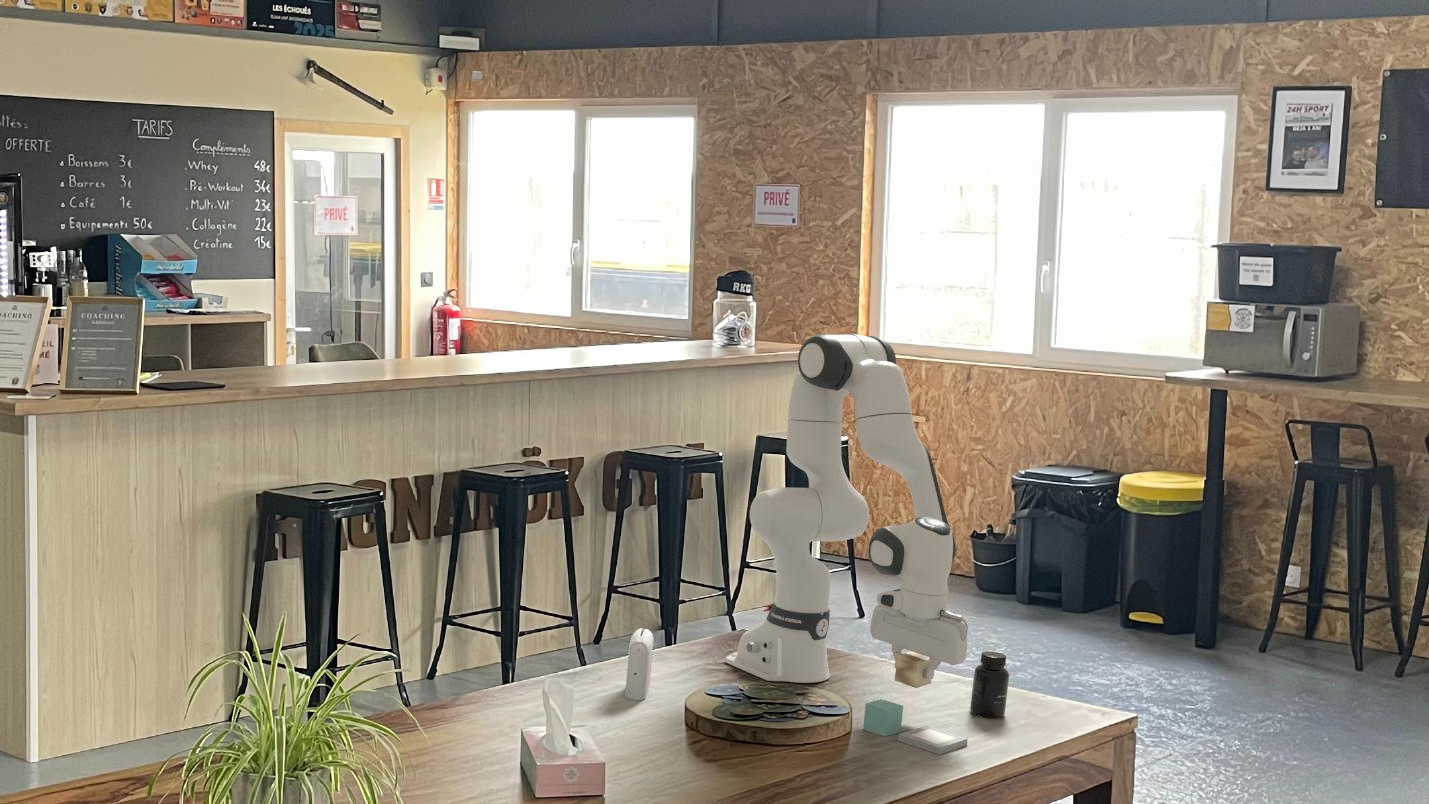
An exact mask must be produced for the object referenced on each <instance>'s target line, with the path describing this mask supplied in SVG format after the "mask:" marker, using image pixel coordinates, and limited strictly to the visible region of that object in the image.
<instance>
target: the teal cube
mask: <svg viewBox="0 0 1429 804" xmlns="http://www.w3.org/2000/svg"><path fill="white" fill-rule="evenodd" d="M864 708H865V709H864V716H863V717H864V718H863V728H862V729H863V730H864V731H868V732H870V733H874V734H877V735H879V736H883V737H888V736H891V735H894V734H897V733H900V732H902V722H903V721H902V720H903V711H904V705H902V704H898V703H895V702H892V701H888V700H886V699H883V698H880V699H877V700H874V701H873V700H872V701H869V702H866V703H865V706H864Z"/></svg>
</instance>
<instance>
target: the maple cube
mask: <svg viewBox="0 0 1429 804" xmlns="http://www.w3.org/2000/svg"><path fill="white" fill-rule="evenodd" d="M930 665H931V663H929V657H927V656H924V655H921V654H918V653H916V652H913V651H908V652H905V653H902V654H901V655H898V657H897V664H896V668H895V674H894V681H895V682H898V683H901V684H903V685H906V686H909V687H911V688H915V689H918V688H920V687H924V686H927V685H930V684H931V683H932V679H931V680H928V679H925V678H923V677H922V675H923V669H926V668H928V667H929V666H930Z"/></svg>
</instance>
